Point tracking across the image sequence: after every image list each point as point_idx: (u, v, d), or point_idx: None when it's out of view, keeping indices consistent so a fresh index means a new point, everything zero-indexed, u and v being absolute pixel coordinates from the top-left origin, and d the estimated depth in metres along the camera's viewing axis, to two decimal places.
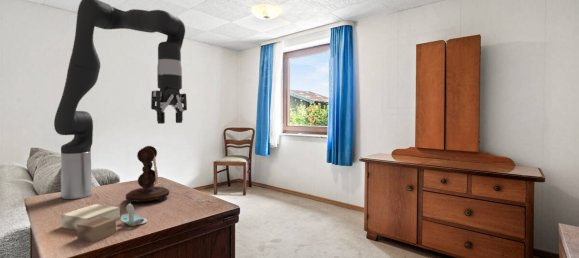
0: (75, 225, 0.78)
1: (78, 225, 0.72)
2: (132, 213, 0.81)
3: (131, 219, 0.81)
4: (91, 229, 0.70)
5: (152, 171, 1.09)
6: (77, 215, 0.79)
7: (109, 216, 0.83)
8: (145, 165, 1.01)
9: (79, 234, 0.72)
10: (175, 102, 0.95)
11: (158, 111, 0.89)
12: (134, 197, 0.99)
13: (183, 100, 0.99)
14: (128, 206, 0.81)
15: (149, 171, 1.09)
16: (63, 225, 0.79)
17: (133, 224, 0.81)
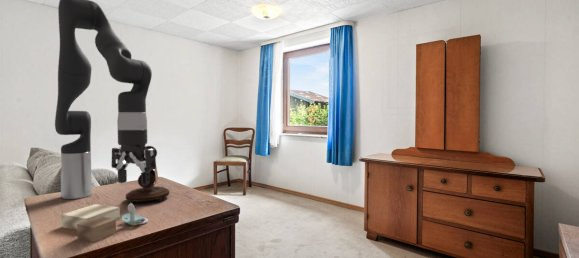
0: (75, 225, 0.78)
1: (78, 225, 0.72)
2: (133, 213, 0.81)
3: (132, 219, 0.82)
4: (91, 229, 0.70)
5: (152, 171, 1.09)
6: (77, 215, 0.79)
7: (109, 216, 0.83)
8: None
9: (79, 234, 0.72)
10: None
11: (148, 171, 0.80)
12: (134, 197, 0.99)
13: (120, 155, 0.84)
14: (129, 206, 0.81)
15: None
16: (63, 225, 0.79)
17: (134, 224, 0.81)
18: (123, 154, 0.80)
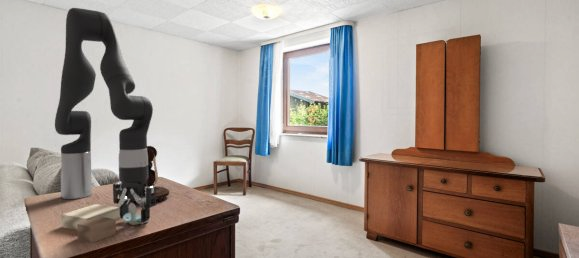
0: (75, 225, 0.78)
1: (78, 225, 0.72)
2: (134, 212, 0.82)
3: (133, 218, 0.82)
4: (90, 229, 0.70)
5: (152, 171, 1.09)
6: (77, 215, 0.79)
7: (109, 216, 0.83)
8: None
9: (79, 234, 0.72)
10: None
11: (148, 208, 0.81)
12: None
13: (122, 190, 0.85)
14: (130, 205, 0.81)
15: (149, 171, 1.09)
16: (63, 225, 0.79)
17: (135, 223, 0.81)
18: (124, 190, 0.81)
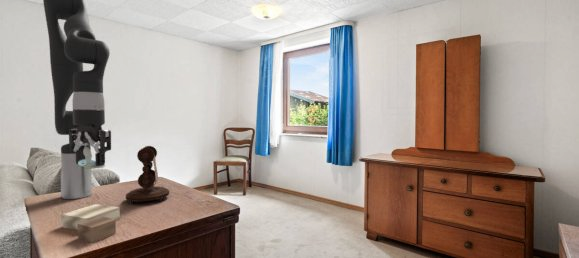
0: (75, 225, 0.78)
1: (78, 224, 0.72)
2: (89, 156, 0.81)
3: (88, 163, 0.81)
4: (89, 229, 0.70)
5: (152, 171, 1.09)
6: (76, 215, 0.79)
7: (109, 216, 0.83)
8: (145, 165, 1.01)
9: (79, 234, 0.72)
10: None
11: (103, 152, 0.80)
12: (134, 197, 0.99)
13: None
14: (85, 149, 0.81)
15: (149, 171, 1.09)
16: (63, 225, 0.79)
17: (90, 167, 0.81)
18: (79, 134, 0.80)
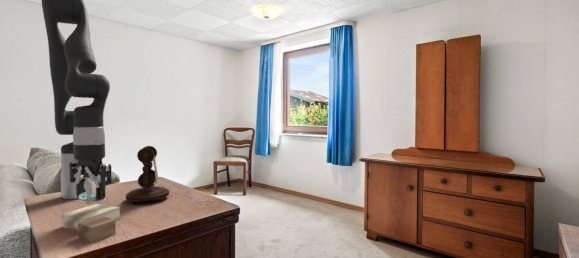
0: (75, 225, 0.78)
1: (78, 224, 0.72)
2: (89, 190, 0.81)
3: (88, 196, 0.81)
4: (89, 229, 0.70)
5: (152, 171, 1.09)
6: (76, 215, 0.79)
7: (109, 216, 0.83)
8: (145, 165, 1.01)
9: (79, 234, 0.72)
10: None
11: (103, 186, 0.81)
12: (134, 197, 0.99)
13: None
14: (85, 183, 0.81)
15: (149, 171, 1.09)
16: (63, 225, 0.79)
17: (90, 201, 0.81)
18: (79, 168, 0.81)
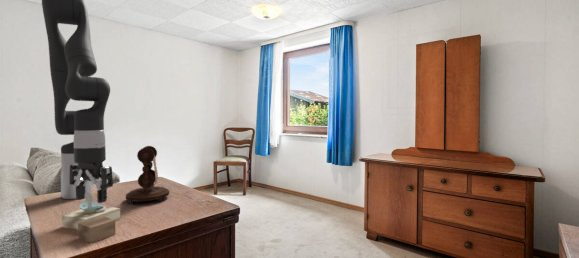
0: (75, 226, 0.78)
1: (79, 224, 0.72)
2: (90, 200, 0.82)
3: (89, 206, 0.82)
4: (88, 229, 0.70)
5: (152, 171, 1.09)
6: (77, 215, 0.79)
7: (109, 217, 0.83)
8: (145, 165, 1.01)
9: (79, 233, 0.72)
10: None
11: (105, 189, 0.81)
12: (134, 197, 0.99)
13: (79, 171, 0.85)
14: (86, 193, 0.81)
15: (149, 171, 1.09)
16: (63, 226, 0.79)
17: (91, 211, 0.81)
18: (80, 171, 0.81)
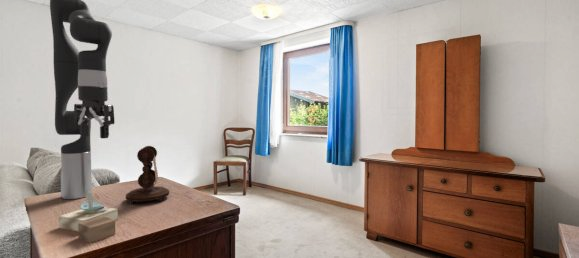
0: (72, 227, 0.77)
1: (79, 224, 0.72)
2: (91, 200, 0.81)
3: (90, 206, 0.81)
4: (88, 229, 0.70)
5: (152, 171, 1.09)
6: (74, 216, 0.78)
7: None
8: (145, 165, 1.01)
9: (79, 233, 0.72)
10: None
11: (107, 126, 0.87)
12: (134, 197, 0.99)
13: None
14: (87, 193, 0.81)
15: (149, 171, 1.09)
16: (60, 227, 0.79)
17: (91, 211, 0.81)
18: (84, 109, 0.87)
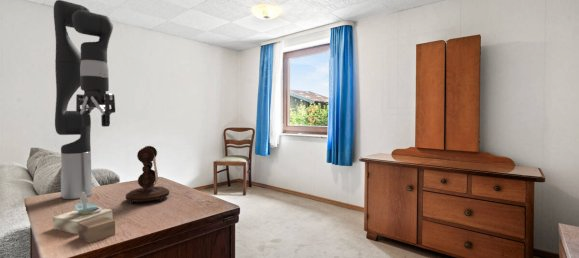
0: (66, 228, 0.76)
1: (79, 224, 0.73)
2: (85, 201, 0.80)
3: (84, 207, 0.81)
4: (87, 229, 0.70)
5: (152, 171, 1.09)
6: (68, 217, 0.78)
7: None
8: (145, 165, 1.01)
9: (80, 233, 0.73)
10: None
11: (108, 114, 0.90)
12: (134, 197, 0.99)
13: None
14: (81, 194, 0.80)
15: (149, 171, 1.09)
16: (54, 228, 0.78)
17: (86, 212, 0.80)
18: (85, 98, 0.90)
